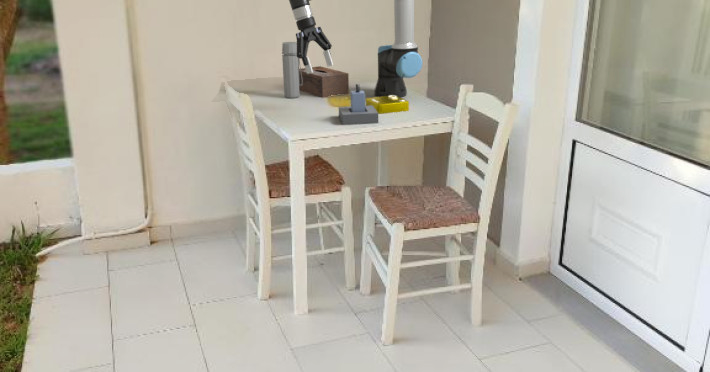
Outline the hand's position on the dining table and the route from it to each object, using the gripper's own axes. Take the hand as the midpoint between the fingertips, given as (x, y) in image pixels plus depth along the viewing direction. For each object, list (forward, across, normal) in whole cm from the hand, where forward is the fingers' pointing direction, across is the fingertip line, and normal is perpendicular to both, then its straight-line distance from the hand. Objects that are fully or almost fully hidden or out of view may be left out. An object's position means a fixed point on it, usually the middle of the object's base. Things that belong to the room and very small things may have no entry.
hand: (320, 69), depth 270 cm
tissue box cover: (+12, -35, -34) cm, 50 cm away
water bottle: (+10, -18, -36) cm, 42 cm away
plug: (+22, +2, +13) cm, 26 cm away
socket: (+23, +2, +13) cm, 27 cm away
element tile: (+25, -20, +12) cm, 34 cm away
